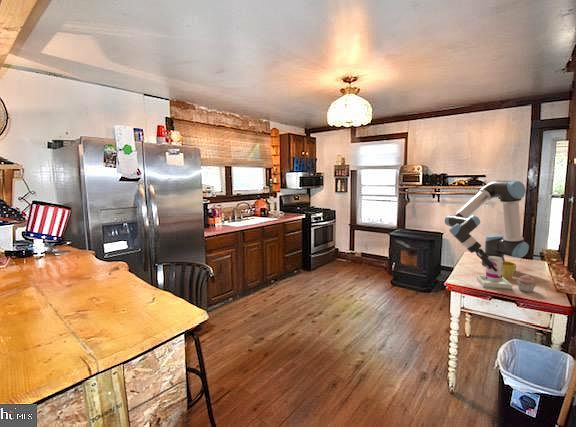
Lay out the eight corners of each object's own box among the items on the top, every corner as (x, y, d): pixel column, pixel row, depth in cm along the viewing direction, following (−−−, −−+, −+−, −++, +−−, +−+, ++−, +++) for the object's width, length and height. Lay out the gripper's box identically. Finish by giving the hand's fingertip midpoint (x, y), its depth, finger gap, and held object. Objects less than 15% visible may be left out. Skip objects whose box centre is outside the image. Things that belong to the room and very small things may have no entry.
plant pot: (511, 281, 188) (512, 266, 187) (493, 276, 197) (494, 262, 196) (518, 277, 194) (519, 263, 193) (500, 273, 203) (501, 260, 201)
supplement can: (494, 283, 178) (496, 259, 176) (482, 279, 186) (483, 256, 184) (504, 282, 180) (506, 258, 178) (492, 277, 188) (493, 255, 186)
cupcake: (526, 287, 178) (527, 271, 177) (540, 293, 169) (541, 276, 167) (511, 287, 178) (512, 271, 176) (524, 293, 168) (525, 277, 167)
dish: (476, 279, 192) (476, 275, 192) (502, 281, 188) (503, 277, 187) (483, 287, 179) (483, 282, 178) (511, 289, 174) (512, 285, 174)
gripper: (467, 244, 198) (494, 271, 191) (465, 251, 181) (495, 281, 174) (476, 238, 194) (505, 264, 187) (476, 244, 177) (507, 274, 170)
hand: (500, 272), depth 181 cm, fingers closed on supplement can, 8 cm apart
